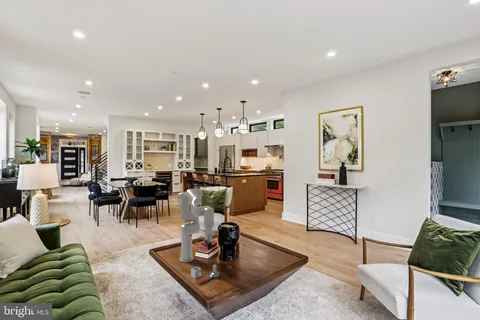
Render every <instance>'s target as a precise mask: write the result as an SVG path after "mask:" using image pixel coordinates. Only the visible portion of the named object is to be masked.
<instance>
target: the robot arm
mask: <svg viewBox="0 0 480 320" xmlns="http://www.w3.org/2000/svg"><path fill="white" fill-rule="evenodd" d="M203 196H204V193H203V190H202V189H201V188H189V189H187V190H186V191H181V192H179V193H177V196H176V198H177V200H176V201H177V203H178V204H177V205H178V206H179V211H180V212H179V215H180V221H181V222H182V223H185V224H182V225H181V226H180V229H179V231H180V237H181V238H180V239H181V241H180V244H181V245H180V246H181V247H180V249H181V250H180V253H179V255H180V257H179V260H178V261H179V262H182V263H190V262H192V261H194V256H193V238H192V237H191V235H194V234H198V233H200V229H201V227H200V217H203V227H204V239H205V245H207V247H206V248H207V250H211V249H212V248H213V245H212V244H213V243H212V242H213V241H212V240H213V227H215V222H214V221H215V214H214V213H215V209H214V208H213V207H211V206H209V205H203V206H202V205H201V206H199V205H200V204H201V203H202V197H203ZM188 202H190V205H189V203H188Z"/></svg>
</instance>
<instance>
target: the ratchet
mask: <svg viewBox="0 0 480 320" xmlns="http://www.w3.org/2000/svg"><path fill="white" fill-rule="evenodd" d="M219 277H220V272H219V271H217V265H216V264H212V271H210V272H209V275H206V276H201V277H199V278H197V279H195V284H196V285H198V286H200V285H202V284H204V283H206V282H209V280H210V281H211V280H212V279H218V278H219Z"/></svg>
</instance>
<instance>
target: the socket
mask: <svg viewBox="0 0 480 320" xmlns="http://www.w3.org/2000/svg"><path fill="white" fill-rule="evenodd" d="M190 277H191V278H193V279H195V280H197V279H199V278H202V268H201V267H200V266H195V267H191V268H190Z"/></svg>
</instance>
